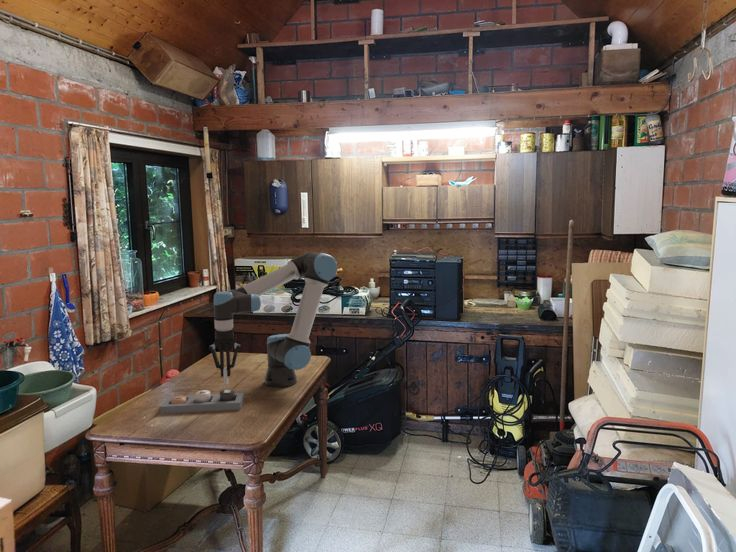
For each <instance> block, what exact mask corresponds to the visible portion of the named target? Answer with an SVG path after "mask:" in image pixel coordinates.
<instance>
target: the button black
mask: <svg viewBox="0 0 736 552" xmlns="http://www.w3.org/2000/svg"><path fill="white" fill-rule="evenodd" d="M235 393H236V392H235V389H233V388H225V389H222V390H220V391H219V394H220V401H233V400H235Z"/></svg>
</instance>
